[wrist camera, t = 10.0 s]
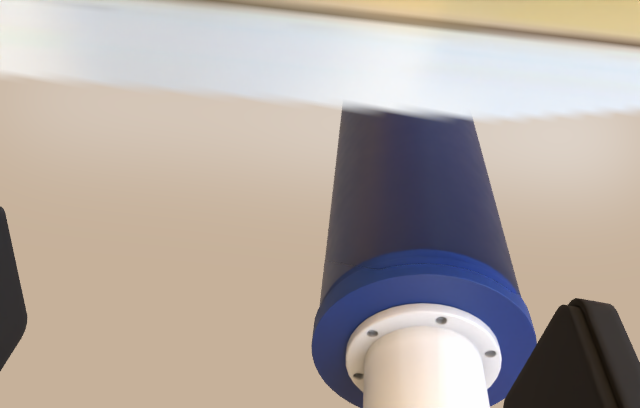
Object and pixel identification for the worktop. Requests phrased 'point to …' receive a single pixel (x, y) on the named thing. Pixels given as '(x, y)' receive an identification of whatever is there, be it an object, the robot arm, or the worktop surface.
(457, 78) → the worktop surface
